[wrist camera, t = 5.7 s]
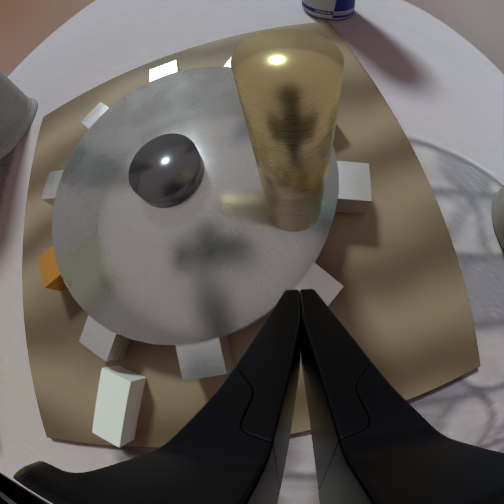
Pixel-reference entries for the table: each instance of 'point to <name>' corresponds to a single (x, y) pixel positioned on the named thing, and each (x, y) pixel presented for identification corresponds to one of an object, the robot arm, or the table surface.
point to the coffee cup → (499, 215)
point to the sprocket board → (343, 306)
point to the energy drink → (329, 8)
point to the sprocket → (204, 200)
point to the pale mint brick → (118, 405)
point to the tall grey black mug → (13, 114)
